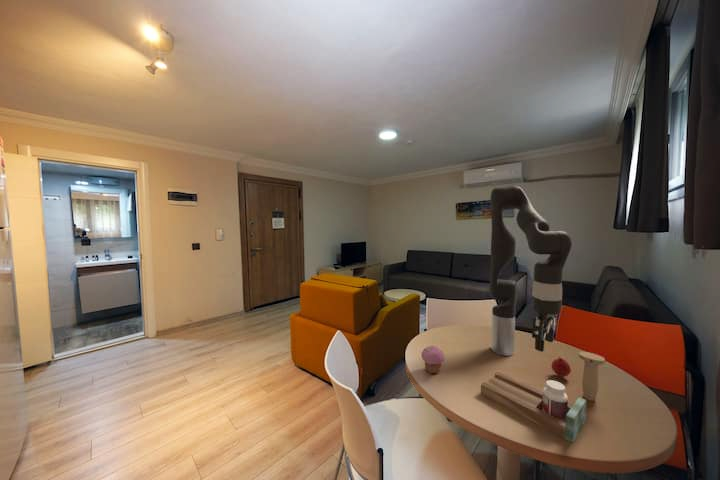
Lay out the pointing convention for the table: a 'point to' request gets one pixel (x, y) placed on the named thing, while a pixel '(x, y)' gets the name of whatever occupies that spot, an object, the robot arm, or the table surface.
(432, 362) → the cupcake
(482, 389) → the channel board
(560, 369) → the onion
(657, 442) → the table surface
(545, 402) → the pill bottle
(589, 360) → the handle
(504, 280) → the robot arm
